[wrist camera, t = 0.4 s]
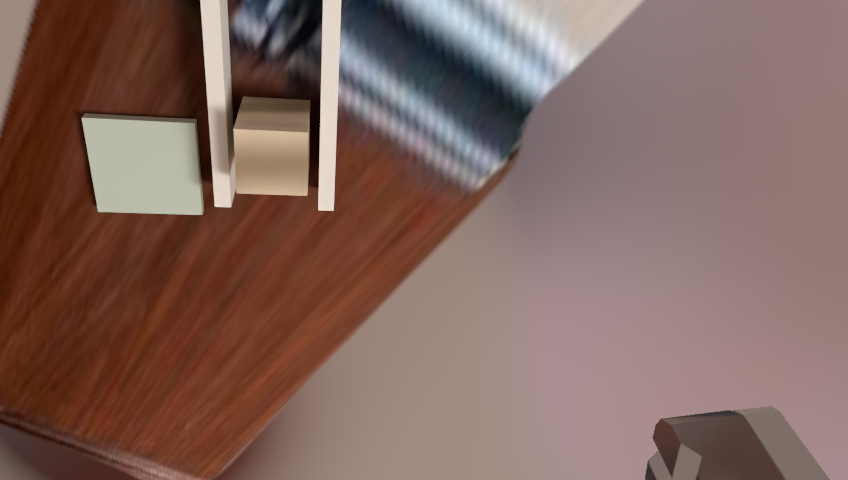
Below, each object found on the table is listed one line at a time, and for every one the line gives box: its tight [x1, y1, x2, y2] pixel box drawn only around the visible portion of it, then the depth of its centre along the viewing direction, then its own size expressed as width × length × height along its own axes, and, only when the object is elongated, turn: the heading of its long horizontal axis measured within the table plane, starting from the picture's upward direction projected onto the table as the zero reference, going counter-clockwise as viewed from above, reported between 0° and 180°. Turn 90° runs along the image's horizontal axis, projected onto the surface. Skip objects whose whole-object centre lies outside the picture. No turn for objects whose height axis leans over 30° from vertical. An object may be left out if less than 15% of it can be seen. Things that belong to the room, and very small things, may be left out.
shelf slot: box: [200, 0, 341, 211], centre depth 50 cm, size 19×9×4 cm, turn 174°
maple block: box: [233, 96, 310, 196], centre depth 51 cm, size 5×5×6 cm
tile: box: [82, 113, 204, 215], centre depth 53 cm, size 8×8×1 cm
